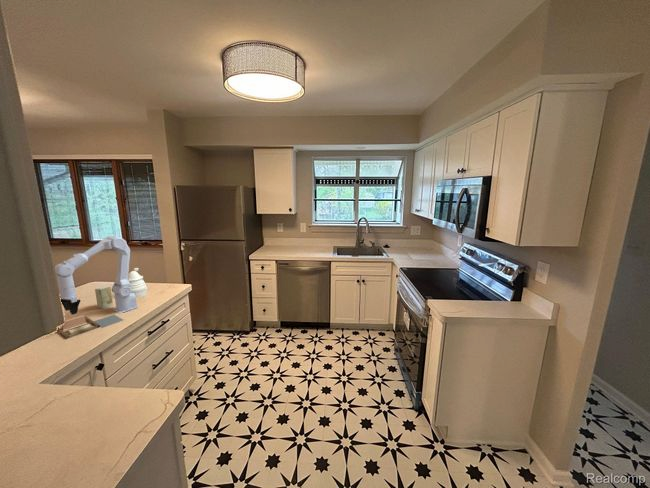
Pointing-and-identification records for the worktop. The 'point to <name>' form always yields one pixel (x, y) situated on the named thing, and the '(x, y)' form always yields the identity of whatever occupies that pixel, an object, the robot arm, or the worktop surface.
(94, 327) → the walnut rack
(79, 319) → the dusty pink block
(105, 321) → the slate mat
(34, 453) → the worktop surface
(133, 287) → the honey pot
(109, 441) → the worktop surface
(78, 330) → the offcut upper
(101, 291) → the skincare box
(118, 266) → the robot arm
